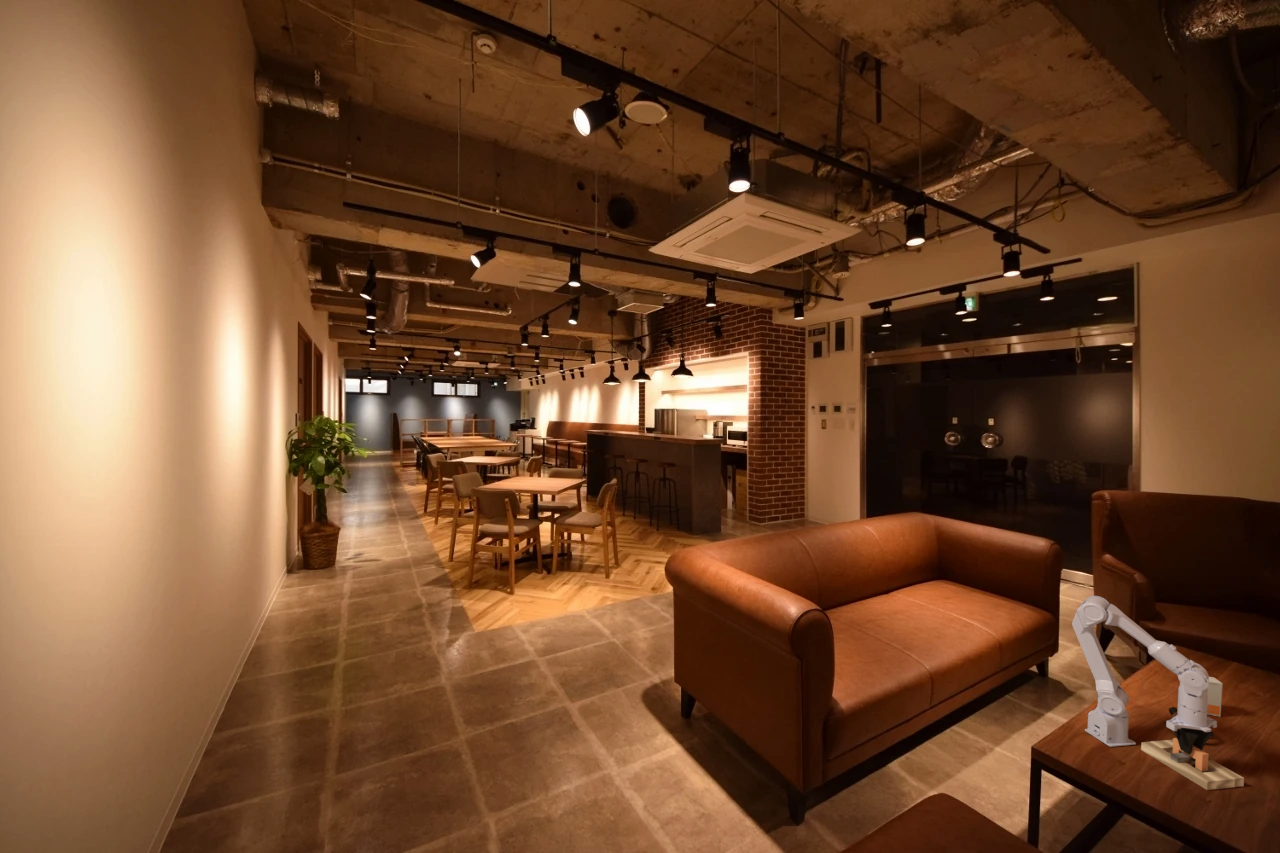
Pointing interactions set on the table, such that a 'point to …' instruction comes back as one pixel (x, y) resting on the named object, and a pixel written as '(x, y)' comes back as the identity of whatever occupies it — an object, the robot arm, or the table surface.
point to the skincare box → (1214, 697)
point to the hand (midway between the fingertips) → (1190, 751)
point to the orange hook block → (1194, 755)
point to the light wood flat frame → (1208, 780)
